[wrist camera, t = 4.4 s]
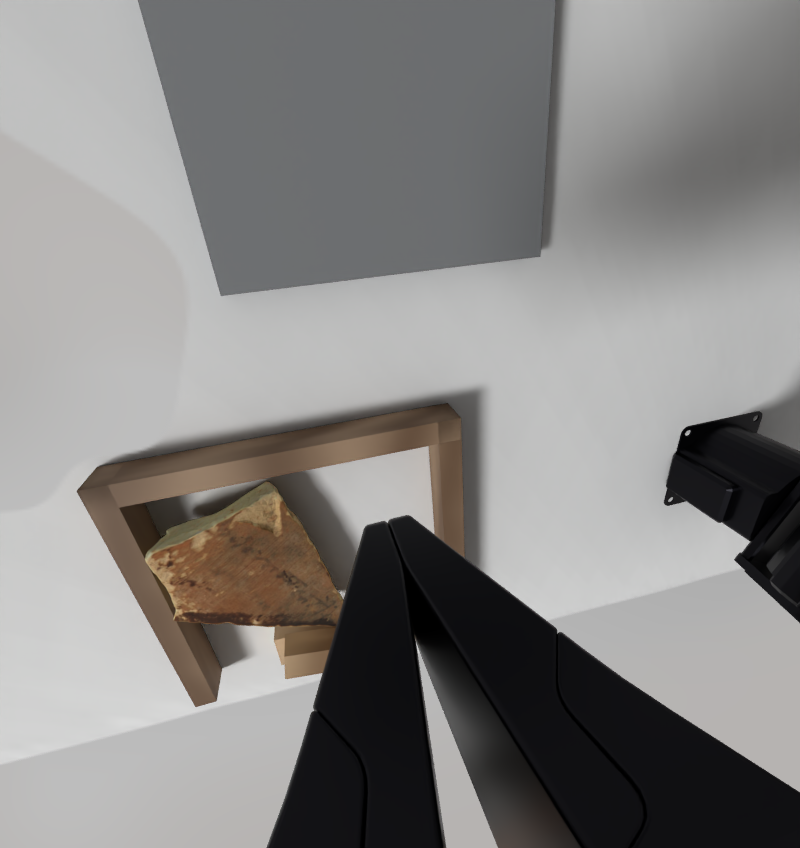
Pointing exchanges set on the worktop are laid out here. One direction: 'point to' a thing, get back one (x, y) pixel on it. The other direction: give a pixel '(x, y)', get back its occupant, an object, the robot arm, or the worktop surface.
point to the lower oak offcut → (281, 631)
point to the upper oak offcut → (307, 652)
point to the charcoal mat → (358, 132)
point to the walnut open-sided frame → (243, 462)
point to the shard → (246, 567)
